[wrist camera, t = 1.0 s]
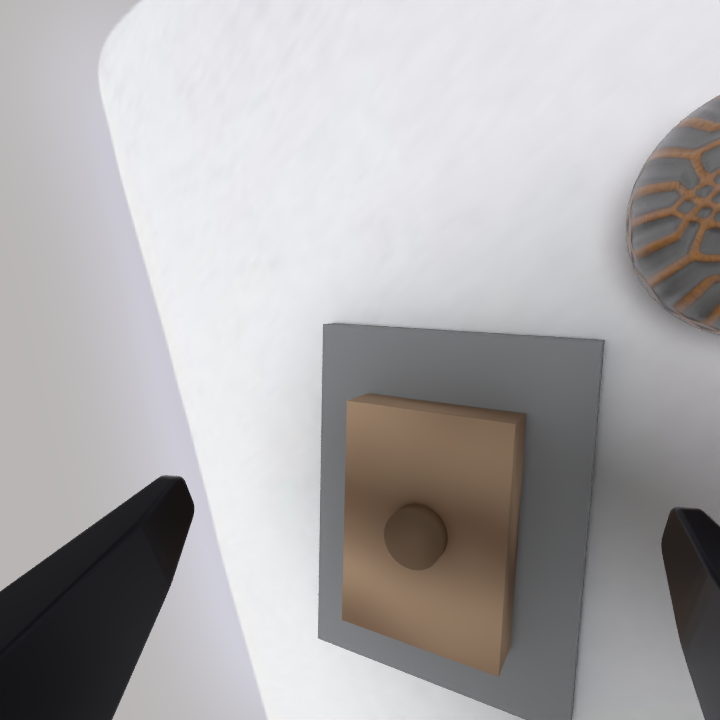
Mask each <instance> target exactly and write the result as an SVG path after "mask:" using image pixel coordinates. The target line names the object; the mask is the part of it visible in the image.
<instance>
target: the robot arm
mask: <svg viewBox="0 0 720 720" xmlns="http://www.w3.org/2000/svg"><path fill="white" fill-rule="evenodd" d="M193 515H194V503H193V500H192V498H191V495H190V493H189V490H188V488H187V485H186V482H185V480H184V479H183V478H182V477H180V476H168V475H165V476H161V477H159V478H158V479H156V480H155V481H153V482H152V483H151V484H149V485H148V486H146V487H145V488H144V489H142V490H141V491H139V492H138V493H137V494H135V495H134V496H132V497H131V498H130V499H128V500H127V501H125V502H124V503H123V504H122V505H120V506H118V507H117V508H116V509H114V510H113V511H112V512H110V513H109V514H107V515H106V516H105V517H103V518H102V519H100V520H99V521H98V522H96V523H95V524H93V525H92V526H91V527H89V528H88V529H86V530H85V531H84V532H82V533H81V534H79V535H78V536H77V537H76V538H74V539H73V540H71V541H70V542H68V543H67V544H66V545H64V546H63V547H61V548H60V549H59V550H57V551H56V552H55V553H53V554H52V555H50V556H49V557H47V558H46V559H45V560H43V561H42V562H41V563H39V564H38V565H36V566H35V567H34V568H32V569H31V570H29V571H28V572H27V573H25V574H24V575H22V576H21V577H20V578H18V579H17V580H16V581H14V582H13V583H11V584H10V585H9V586H7V587H6V588H4V589H3V590H2V591H0V720H112V719H113V716H114V714H115V712H116V710H117V707H118V705H119V703H120V700H121V698H122V696H123V694H124V691H125V689H126V687H127V684H128V682H129V680H130V678H131V675H132V673H133V671H134V669H135V666H136V664H137V662H138V659H139V657H140V655H141V653H142V650H143V648H144V646H145V643H146V641H147V639H148V637H149V634H150V632H151V629H152V627H153V625H154V623H155V621H156V618H157V616H158V614H159V612H160V609H161V607H162V604H163V602H164V600H165V598H166V595H167V593H168V591H169V588H170V586H171V583H172V580H173V577H174V574H175V571H176V568H177V565H178V561H179V559H180V556H181V553H182V549H183V546H184V543H185V540H186V537H187V534H188V531H189V528H190V525H191V522H192V519H193ZM661 547H662V555H663V560H664V565H665V570H666V575H667V580H668V585H669V590H670V595H671V600H672V605H673V610H674V615H675V620H676V625H677V629H678V634H679V638H680V642H681V646H682V649H683V653H684V656H685V659H686V662H687V666H688V669H689V672H690V675H691V678H692V681H693V684H694V687H695V690H696V694H697V697H698V700H699V703H700V706H701V709H702V712H703V715H704V718H705V720H720V526H719V525H718V524H717V523H716V522H715V521H714V520H713V519H712V518H710V517H709V516H708V515H707V514H706V513H705V512H704V511H702V510H700V509H697V508H684V507H675V508H673V509H672V510H671V512H670V515H669V518H668V521H667V524H666V527H665V530H664V534H663V537H662V543H661Z"/></svg>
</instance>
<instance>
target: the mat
mask: <svg viewBox="0 0 720 720" xmlns="http://www.w3.org/2000/svg"><path fill="white" fill-rule="evenodd" d="M603 351H604V340H596V339H580V338H564V337H547V336H531V335H515V334H499V333H482V332H466V331H450V330H434V329H417V328H401V327H385V326H369V325H352V324H336V323H333V324H323V367H322V429H321V490H320V552H319V613H318V638H319V639H321V640H324V641H327V642H329V643H332V644H334V645H337V646H339V647H342V648H344V649H347V650H349V651H352V652H355V653H357V654H360V655H362V656H365V657H367V658H370V659H372V660H375V661H378V662H380V663H383V664H385V665H388V666H390V667H393V668H395V669H398V670H401V671H403V672H406V673H408V674H411V675H413V676H416V677H418V678H421V679H423V680H426V681H429V682H431V683H434V684H436V685H439V686H441V687H444V688H446V689H449V690H452V691H454V692H457V693H459V694H462V695H464V696H467V697H469V698H472V699H475V700H477V701H480V702H482V703H485V704H487V705H490V706H492V707H495V708H497V709H500V710H503V711H505V712H508V713H510V714H513V715H515V716H518V717H520V718H523V719H526V720H572V709H573V697H574V686H575V674H576V663H577V651H578V640H579V628H580V616H581V605H582V593H583V582H584V570H585V559H586V547H587V536H588V524H589V513H590V501H591V489H592V478H593V466H594V455H595V443H596V432H597V420H598V409H599V397H600V386H601V374H602V363H603ZM368 393H371V394H379V395H387V396H395V397H402V398H410V399H418V400H426V401H433V402H441V403H449V404H457V405H465V406H472V407H480V408H488V409H496V410H503V411H511V412H519V413H526V427H525V442H524V457H523V471H522V486H521V501H520V515H519V530H518V544H517V559H516V574H515V588H514V603H513V617H512V632H511V647H510V650H509V652H508V655H507V657H506V660H505V662H504V665H503V667H502V670H501V672H500V675H499V677H497V676H495V675H492V674H489V673H486V672H484V671H481V670H478V669H475V668H473V667H470V666H467V665H464V664H462V663H459V662H456V661H453V660H451V659H448V658H445V657H442V656H440V655H437V654H434V653H431V652H429V651H426V650H423V649H420V648H418V647H415V646H412V645H409V644H407V643H404V642H401V641H398V640H396V639H393V638H390V637H387V636H385V635H382V634H379V633H376V632H374V631H371V630H368V629H365V628H363V627H360V626H357V625H354V624H352V623H349V622H346V621H343V620H342V592H343V548H344V504H345V459H346V415H347V400H350V399H353V398H356V397H359V396H362V395H365V394H368Z"/></svg>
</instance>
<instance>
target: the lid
mask: <svg viewBox="0 0 720 720" xmlns="http://www.w3.org/2000/svg"><path fill="white" fill-rule="evenodd" d="M525 427H526V413H519V412H511V411H503V410H496V409H488V408H480V407H472V406H465V405H457V404H449V403H441V402H433V401H426V400H418V399H410V398H402V397H395V396H387V395H379V394H371V393H368V394H365V395H362V396H359V397H356V398H353V399H350V400H347V415H346V459H345V504H344V548H343V592H342V620H343V621H346V622H349V623H352V624H354V625H357V626H360V627H363V628H365V629H368V630H371V631H374V632H376V633H379V634H382V635H385V636H387V637H390V638H393V639H396V640H398V641H401V642H404V643H407V644H409V645H412V646H415V647H418V648H420V649H423V650H426V651H429V652H431V653H434V654H437V655H440V656H442V657H445V658H448V659H451V660H453V661H456V662H459V663H462V664H464V665H467V666H470V667H473V668H475V669H478V670H481V671H484V672H486V673H489V674H492V675H495V676H497V677H499V675H500V672H501V670H502V667H503V665H504V662H505V660H506V657H507V655H508V652H509V650H510V647H511V632H512V617H513V603H514V588H515V574H516V559H517V544H518V530H519V515H520V501H521V486H522V471H523V457H524V442H525Z"/></svg>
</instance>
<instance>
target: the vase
mask: <svg viewBox="0 0 720 720" xmlns="http://www.w3.org/2000/svg"><path fill="white" fill-rule="evenodd" d="M626 238H627V246H628V251H629V255H630V259H631V262H632V265H633V267H634V269H635V272H636V274H637V276H638V277H639V279H640V281H641V283H642V284H643V285H644V287H645V288H646V290H647V291H648V292H649V293H650V295H651V296H652V297H653V298H654V299H655V300H656V301H657V302H658V303H659V304H660V305H661V306H662V307H664V308H665V309H666V310H667V311H669V312H670V313H671V314H673V315H674V316H676V317H678V318H679V319H681V320H683V321H684V322H686V323H688V324H690V325H692V326H695V327H697V328H699V329H702V330H705V331H708V332H711V333H715V334H718V335H720V95H719V96H717V97H715V98H714V99H712V100H711V101H709V102H707V103H706V104H704V105H702V106H701V107H699V108H698V109H697V110H695V111H694V112H692V113H691V114H690V115H688V116H687V117H686V118H685V119H683V120H682V121H681V122H680V123H679V124H678V125H677V126H675V127H674V128H673V129H672V130H671V131H670V132H669V133H668V134H667V135H666V137H665V138H664V139H663V140H662V141H661V142H660V144H659V145H658V146H657V147H656V149H655V150H654V151H653V153H652V154H651V155H650V157H649V158H648V160H647V161H646V163H645V164H644V166H643V168H642V170H641V172H640V174H639V176H638V178H637V180H636V182H635V185H634V188H633V190H632V193H631V197H630V200H629V205H628V210H627V219H626Z"/></svg>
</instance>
